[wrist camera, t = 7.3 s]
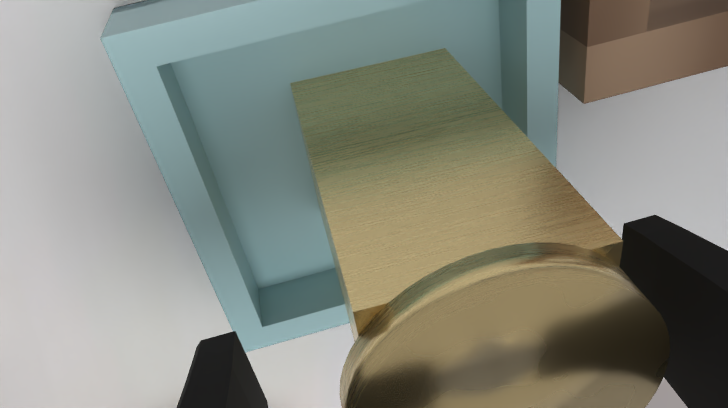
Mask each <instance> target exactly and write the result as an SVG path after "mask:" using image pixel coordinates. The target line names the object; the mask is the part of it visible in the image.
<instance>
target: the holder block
mask: <svg viewBox="0 0 728 408" xmlns="http://www.w3.org/2000/svg"><path fill="white" fill-rule="evenodd" d="M726 66H728V0H561V11H560V45H559V80H558V83H559V84H561V85H562V86H563V87H564V88H565V89H567V90H568V91H569V92H570V93H571V94H573V95H574V96H575V97H576V98H577V99H579V100H580V101H581V102H582V103H583V104H585V103H589V102H593V101H597V100H600V99H604V98H608V97H612V96H616V95H619V94H623V93H627V92H631V91H635V90H638V89H642V88H646V87H650V86H653V85H657V84H661V83H665V82H669V81H672V80H676V79H680V78H684V77H688V76H691V75H695V74H699V73H703V72H707V71H710V70H714V69H718V68H722V67H726Z"/></svg>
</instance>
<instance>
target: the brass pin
mask: <svg viewBox="0 0 728 408" xmlns="http://www.w3.org/2000/svg"><path fill="white" fill-rule="evenodd" d="M290 85H291V90H292V94H293V98H294V102H295V106H296V111H297V115H298V119H299V123H300V128H301V132H302V136H303V140H304V144H305V149H306V153H307V157H308V161H309V165H310V170H311V174H312V178H313V182H314V186H315V191H316V195H317V199H318V203H319V208H320V212H321V215H322V219H323V223H324V227H325V231H326V234H327V238H328V242H329V246H330V250H331V253H332V257H333V261H334V265H335V269H336V272H337V276H338V280H339V284H340V288H341V291H342V295H343V299H344V303H345V306H346V310H347V314H348V318H349V322H350V325H351V329H352V333H353V337H354V341H355V343H354V345H353V346H352V348H351V350H350V352H349V354H348V357H347V359H346V361H345V364H344V366H343V371H342V375H341V380H340V400H341V406H342V408H645V407H646V405H648V403H649V402H650V400H651V399H652V397H653V396H654V394H655V393H656V391H657V389H658V387H659V385H660V383H661V381H662V379H663V377H664V374H665V371H666V368H667V365H668V360H669V354H670V337H669V333H668V330H667V326H666V324H665V322H664V320H663V318H662V316H661V314H660V313H659V312H658V311H657V309H656V308H655V307H654V306H653V305H652V304H651V303H650V301H649V300H648V299H647V298H646V297H645V296H644V294H643V293H642V292H641V291H640V290H639V289H638V288H637V286H636V285H635V284H634V283H633V282H632V281H631V279H630V278H629V277H628V276H627V275H626V274H625V273H624V272H623V270H622V269H621V268H620V267H619V266H620V259H621V253H622V246H623V240H622V239H621V238H620V237H619V236H618V235H617V234H616V233H615V232H614V231H613V230H612V228H611V227H610V226H609V225H608V224H607V223H606V222H605V221H604V220H603V219H602V218H601V217H600V215H599V214H598V213H597V212H596V211H595V210H594V209H593V208H592V207H591V206H590V205H589V204H588V202H587V201H586V200H585V199H584V198H583V197H582V196H581V195H580V194H579V193H578V192H577V191H576V189H575V188H574V187H573V186H572V185H571V184H570V183H569V182H568V181H567V180H566V179H565V178H564V176H563V175H562V174H561V173H560V172H559V171H558V170H557V169H556V168H555V167H554V166H553V165H552V163H551V162H550V161H549V160H548V159H547V158H546V157H545V156H544V155H543V154H542V153H541V151H540V150H539V149H538V148H537V147H536V146H535V145H534V144H533V143H532V142H531V141H530V140H529V138H528V137H527V136H526V135H525V134H524V133H523V132H522V131H521V130H520V129H519V128H518V127H517V125H516V124H515V123H514V122H513V121H512V120H511V119H510V118H509V117H508V116H507V115H506V114H505V112H504V111H503V110H502V109H501V108H500V107H499V106H498V105H497V104H496V103H495V102H494V101H493V99H492V98H491V97H490V96H489V95H488V94H487V93H486V92H485V91H484V90H483V89H482V88H481V86H480V85H479V84H478V83H477V82H476V81H475V80H474V79H473V78H472V77H471V76H470V74H469V73H468V72H467V71H466V70H465V69H464V68H463V67H462V66H461V65H460V64H459V63H458V61H457V60H456V59H455V58H454V57H453V56H452V55H451V54H450V53H449V52H448V51H447V50H446V48H443V49H439V50H435V51H430V52H426V53H421V54H417V55H412V56H408V57H404V58H399V59H395V60H390V61H386V62H381V63H377V64H373V65H368V66H364V67H359V68H355V69H350V70H346V71H342V72H337V73H333V74H328V75H324V76H319V77H315V78H311V79H306V80H302V81H297V82H293V83H290Z"/></svg>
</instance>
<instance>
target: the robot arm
mask: <svg viewBox="0 0 728 408" xmlns="http://www.w3.org/2000/svg"><path fill="white" fill-rule="evenodd" d="M622 240H623V246H622V253H621V259H620V266H619V267H620V268H621V269H622V270H623V272H624V273H625V274H626V275H627V276H628V277H629V278H630V279H631V281H632V282H633V283H634V284H635V285H636V286H637V288H638V289H639V290H640V291H641V292H642V293H643V294H644V296H645V297H646V298H647V299H648V300H649V301H650V303H651V304H652V305H653V306H654V307H655V308H656V309H657V311H658V312H659V313H660V314H661V316H662V318H663V320H664V322H665V324H666V326H667V330H668V333H669V337H670V354H669V360H668V365H667V368H666V371H665V374H664V378H665V379H666V380H667V382H668V383H669V384H670V385H671V387H672V388H673V389H674V390H675V392H676V393H677V394H678V396H679V397H680V398H681V399H682V401H683V402H684V403H685V404H686V406H687V407H688V408H728V251H727V250H725V249H723V248H721V247H719V246H717V245H715V244H713V243H711V242H709V241H707V240H705V239H703V238H701V237H699V236H697V235H696V234H694V233H692V232H690V231H688V230H686V229H684V228H682V227H680V226H678V225H676V224H673V223H671V222H669V221H667V220H665V219H663V218H661V217H659V216H657V215H653V216H649V217H646V218H642V219H639V220H635V221H631V222H628V223H624V226H623V235H622ZM177 408H268V404H267V400H266V398H265V396H264V393H263V391H262V389H261V387H260V384H259V382H258V380H257V378H256V376H255V373H254V371H253V369H252V367H251V364H250V362H249V360H248V358H247V356H246V353H245V351H244V349H243V347H242V344H241V342H240V340H239V338H238V335H237V333H236V331H234V332H230V333H226V334H223V335H219V336H216V337H212V338H208V339H205V340H201V341H200V343H199V344H198V346H197V348H196V351H195V355H194V358H193V361H192V364H191V367H190V370H189V374H188V377H187V380H186V383H185V386H184V388H183V391H182V394H181V397H180V400H179V403H178V405H177Z"/></svg>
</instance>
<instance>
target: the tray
mask: <svg viewBox="0 0 728 408" xmlns="http://www.w3.org/2000/svg"><path fill="white" fill-rule="evenodd" d="M560 11H561V0H147V1H143V2H139V3H134V4H130V5H126V6H122V7H118V8H114V9H113V11H112V13H111V16H110V18H109V20H108V22H107V25H106V27H105V29H104V31H103V34H102V36H101V38H100V39H101V41H102V43H103V45H104V48H105V50H106V52H107V54H108V56H109V59H110V61H111V63H112V65H113V67H114V70H115V72H116V74H117V76H118V78H119V81H120V83H121V85H122V87H123V89H124V92H125V94H126V96H127V98H128V100H129V103H130V105H131V107H132V109H133V111H134V114H135V116H136V118H137V120H138V123H139V125H140V127H141V129H142V131H143V134H144V136H145V138H146V140H147V142H148V145H149V147H150V149H151V151H152V153H153V156H154V158H155V160H156V162H157V164H158V167H159V169H160V171H161V173H162V175H163V178H164V180H165V182H166V184H167V187H168V189H169V191H170V193H171V195H172V198H173V200H174V202H175V204H176V206H177V209H178V211H179V213H180V215H181V217H182V220H183V222H184V224H185V226H186V228H187V231H188V233H189V235H190V237H191V239H192V242H193V244H194V246H195V248H196V250H197V253H198V255H199V257H200V259H201V262H202V264H203V266H204V268H205V270H206V273H207V275H208V277H209V279H210V281H211V284H212V286H213V288H214V290H215V292H216V295H217V297H218V299H219V301H220V303H221V306H222V308H223V310H224V312H225V314H226V317H227V319H228V321H229V323H230V325H231V328H232V330H233V332H234V331H236V333H237V335H238V338H239V340H240V342H241V344H242V347H243V349H244V351H245V352H248V351H252V350H255V349H259V348H263V347H266V346H270V345H273V344H277V343H280V342H284V341H287V340H291V339H294V338H298V337H301V336H305V335H308V334H312V333H315V332H319V331H323V330H326V329H330V328H333V327H337V326H340V325H344V324H347V323H350V322H349V318H348V314H347V310H346V306H345V303H344V299H343V295H342V291H341V288H340V284H339V280H338V276H337V272H336V269H335V265H334V261H333V257H332V253H331V250H330V246H329V242H328V238H327V234H326V231H325V227H324V223H323V219H322V215H321V212H320V208H319V203H318V199H317V195H316V191H315V186H314V182H313V178H312V174H311V170H310V165H309V161H308V157H307V153H306V149H305V144H304V140H303V136H302V132H301V128H300V123H299V119H298V115H297V111H296V106H295V102H294V98H293V94H292V90H291V85H290V83H293V82H297V81H302V80H306V79H311V78H315V77H319V76H324V75H328V74H333V73H337V72H342V71H346V70H350V69H355V68H359V67H364V66H368V65H373V64H377V63H381V62H386V61H390V60H395V59H399V58H404V57H408V56H412V55H417V54H421V53H426V52H430V51H435V50H439V49H443V48H446V50H447V51H448V52H449V53H450V54H451V55H452V56H453V57H454V58H455V59H456V60H457V61H458V63H459V64H460V65H461V66H462V67H463V68H464V69H465V70H466V71H467V72H468V73H469V74H470V76H471V77H472V78H473V79H474V80H475V81H476V82H477V83H478V84H479V85H480V86H481V88H482V89H483V90H484V91H485V92H486V93H487V94H488V95H489V96H490V97H491V98H492V99H493V101H494V102H495V103H496V104H497V105H498V106H499V107H500V108H501V109H502V110H503V111H504V112H505V114H506V115H507V116H508V117H509V118H510V119H511V120H512V121H513V122H514V123H515V124H516V125H517V127H518V128H519V129H520V130H521V131H522V132H523V133H524V134H525V135H526V136H527V137H528V138H529V140H530V141H531V142H532V143H533V144H534V145H535V146H536V147H537V148H538V149H539V150H540V151H541V153H542V154H543V155H544V156H545V157H546V158H547V159H548V160H549V161H550V162H551V163H552V165H553V166H554V167H555V168H556V150H557V115H558V80H559V45H560Z"/></svg>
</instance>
